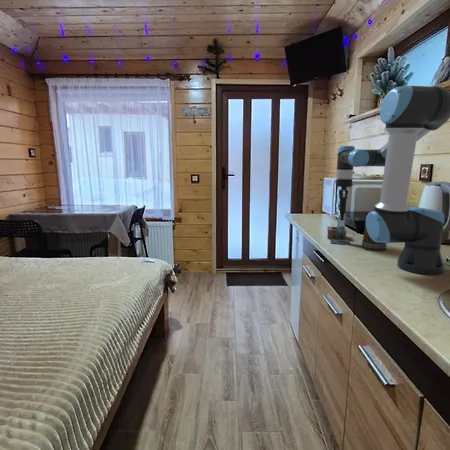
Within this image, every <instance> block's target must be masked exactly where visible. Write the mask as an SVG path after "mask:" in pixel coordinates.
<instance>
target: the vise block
mask: <svg viewBox="0 0 450 450" xmlns="http://www.w3.org/2000/svg"><path fill="white" fill-rule="evenodd" d="M326 228H327V230H326V231H327V234H326V235H327V236H326V237H327V240H331V239H337V238H336V237H337V226H327V227H326ZM341 240H347V228H346V227H345V230H344V239H341Z"/></svg>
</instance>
